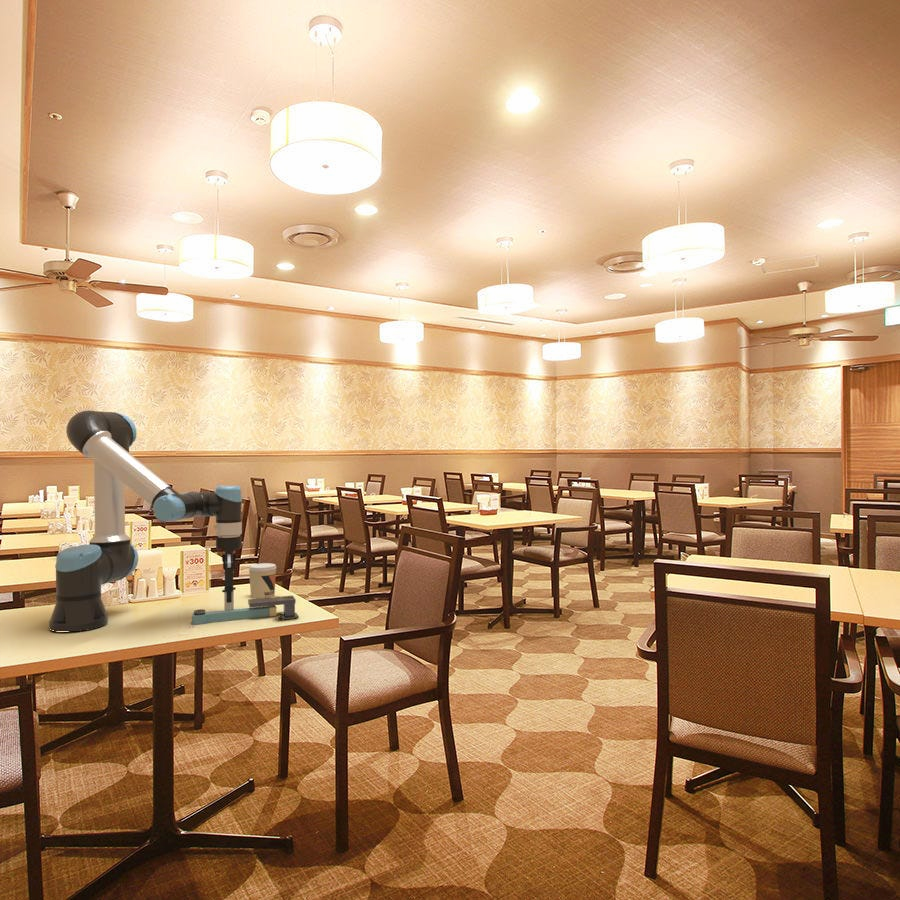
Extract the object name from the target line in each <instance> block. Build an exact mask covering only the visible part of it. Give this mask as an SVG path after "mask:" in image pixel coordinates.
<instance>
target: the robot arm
mask: <svg viewBox="0 0 900 900" xmlns="http://www.w3.org/2000/svg"><path fill="white" fill-rule="evenodd" d="M65 433H66V437H67V439H68V441H69V442H70V443H71V445H72V446H73V447H74V448H75V449H76V450H77V451H78V452H80V454H82V455H83V456H85V458H91V459H93V487H94V488H93V489H94V490H93V491H94V493H93V495H94V496H93V497H94V498H93V499H94V535H93V537H91V539H90V540H89V544H82V545H81V544H80V545H77V546H76V545H75V546H70V547H67V548H64V549H61V550H60V551H59V552H58V553H57V555H56V559H55V562H56V563H55V565H54V566H55V591H56V592H55V594H56V595H55V600H56V601H55V605H54V608H53V611H52V612H51V613H52V614H51V617H50V618H49V619H50V620H49V621H48V623H49V627H48V629H51V630H54V631H80V630H86V631H88V630H87V629H91V630H93V629H92V628H95V629H98V628H97V627H99V628H101V627H100V626H102V627H104V626H106V625H107V624H108V623H109V622H108V621H109V619H108V618H109V616H108V612H107V610H106V607H105V604H104V602H103V600H102V585H106V584H108V583H112V582H118V581H121V580H123V579H125V578H128V577H129V576H130V575H132V574H133V573H134V572H135V570H136V568H137V567H138V562H139V553H138V550H137V549H136V548H135V546H134V545H133V544H132V543H131V536H129V535H128V534H127V533H126V510H125V509H126V503H125V497H126V496H125V486H126V487H127V488H129V489H131V490H132V491H133V492H134V493H136V495H138V496H139V497H141V498H142V499H143V500H144V501H145V502H146V503H147V504H149V505H150V506H152V512H153V514H154V516H155V518H156V519H157V520H159V521H161V522H164V523H165V522H166V523H167V522H168V523H169V522H176V521H180V520H181V521H182V520H185V519H186V520H187V519H191V518H197V517H198V518H199V517H215V522H216V523H215V524H216V525H214V526H213V529H214V530H215V535H216V538H215V548H216V549H217V550H219V551H223V550H224V553H223V554H222V555H221V561H222V569H223V570H224V589H222V591H221V592H222V593H223V594H224V598H223V599H224V601H223V602H224V603H223V604H224V606H223V607H224V610H233V609H235V605H234V604H235V603H234V601H235V600H234V598H235V597H234V596H235V595H234V591H236V587H234V570H235V569H236V560H237V556H236V553H234V550H239V549H241V548H242V546H243V541H242V539H243V538H242V533H243V522H242V502H243V499H242V498H243V497H242V488H241V487H240V486H239V485H218V486H216V488H215V491H213V492H208V491H207V492H206V491H187V492H182V493H179V492H178V491H177V490H175V489H174V488H173V487H172V486H170V485H169V484H168V483H167V482H165V481H164V480H163V479H162V478H161V477H159V476H158V475H157V474H156V473H155V472H153V471H152V470H151V469H149V468H148V467H147V466H146V465H144V463H142V462H141V461H140V460H138V458H137V457H135V456H134V455H133V454H131V453H130V447H131V446H133V443H134V442H136V439H137V435H138V433H137V428H136V425H135V423H134V422H133V420H132V419H130V418H129V416H127V415H125V414H122V413H119V412H115V411H114V412H112V411H98V410H97V411H96V410H88V409H87V410H82V411H80V412H77V413H75V414H74V415H73V416H72V417H71V418H70V419H69V420H68V422H67V425H66V432H65ZM105 624H106V625H105ZM103 625H104V626H103ZM80 632H81V631H80Z"/></svg>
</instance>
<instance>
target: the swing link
mask: <svg viewBox="0 0 900 900" xmlns="http://www.w3.org/2000/svg"><path fill="white" fill-rule="evenodd" d="M277 614H278V613H277V605H272V606H262V607H251V608H250V607H245V608H234V609H233V610H216V611H215V610H213V611H205V613H203V615H196V614H194V612H193V613H191V623H192V625H193V626H195V625H203V624H205V625H206V624H211V623H219V622H220V623H221V622H226V621H227V622H228V621H229V622H230V621H237V620H238V621H239V620H248V619H256V618H264V617H265V618H266V617H275V616H277Z"/></svg>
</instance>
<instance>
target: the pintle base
mask: <svg viewBox="0 0 900 900" xmlns="http://www.w3.org/2000/svg"><path fill="white" fill-rule="evenodd" d="M205 612H206V609H203V608H202V609H201V608H200V609H195V610H193V613H194V614H196V615H203V613H205Z"/></svg>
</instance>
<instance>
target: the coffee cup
mask: <svg viewBox="0 0 900 900" xmlns="http://www.w3.org/2000/svg"><path fill="white" fill-rule="evenodd" d="M248 570H249V574H248V575H249V585H250V586H249V588H250V598H251V599H258V598H270V597H275V593H276V576H277V565H276V564H275V563H272V562H271V563H269V562H268V563H267V562H263V563H261V562H260V563H254V564H250V566H249V568H248Z"/></svg>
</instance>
